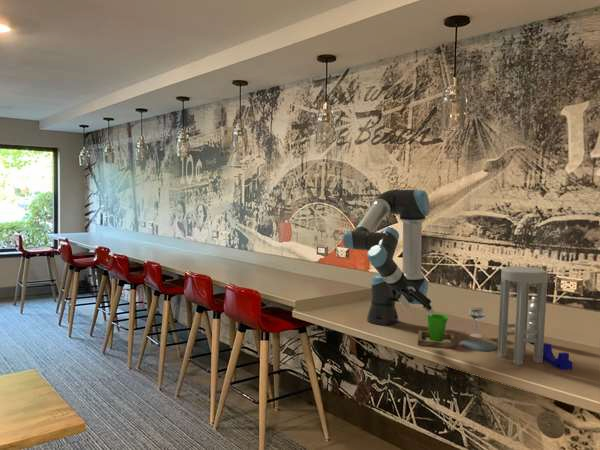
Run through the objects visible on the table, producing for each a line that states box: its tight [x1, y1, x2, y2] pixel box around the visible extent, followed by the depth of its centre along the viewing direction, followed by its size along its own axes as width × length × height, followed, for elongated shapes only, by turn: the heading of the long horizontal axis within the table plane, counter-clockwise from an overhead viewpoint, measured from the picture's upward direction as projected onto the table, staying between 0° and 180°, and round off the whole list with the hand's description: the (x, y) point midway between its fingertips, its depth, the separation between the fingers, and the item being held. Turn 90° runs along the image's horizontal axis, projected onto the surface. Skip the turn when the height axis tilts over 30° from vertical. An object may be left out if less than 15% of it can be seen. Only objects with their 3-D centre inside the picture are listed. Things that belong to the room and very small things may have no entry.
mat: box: [460, 339, 497, 352], centre depth 204 cm, size 14×14×1 cm
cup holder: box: [417, 329, 456, 349], centre depth 209 cm, size 15×15×2 cm
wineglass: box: [468, 306, 486, 338], centre depth 218 cm, size 7×7×12 cm
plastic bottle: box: [526, 295, 537, 344], centre depth 209 cm, size 6×7×20 cm
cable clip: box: [543, 343, 573, 371], centre depth 184 cm, size 12×4×6 cm, turn 6°
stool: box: [496, 265, 549, 366], centre depth 188 cm, size 16×16×35 cm
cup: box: [425, 313, 449, 342], centre depth 208 cm, size 9×9×11 cm
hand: (419, 310), depth 202 cm, fingers open, 13 cm apart
